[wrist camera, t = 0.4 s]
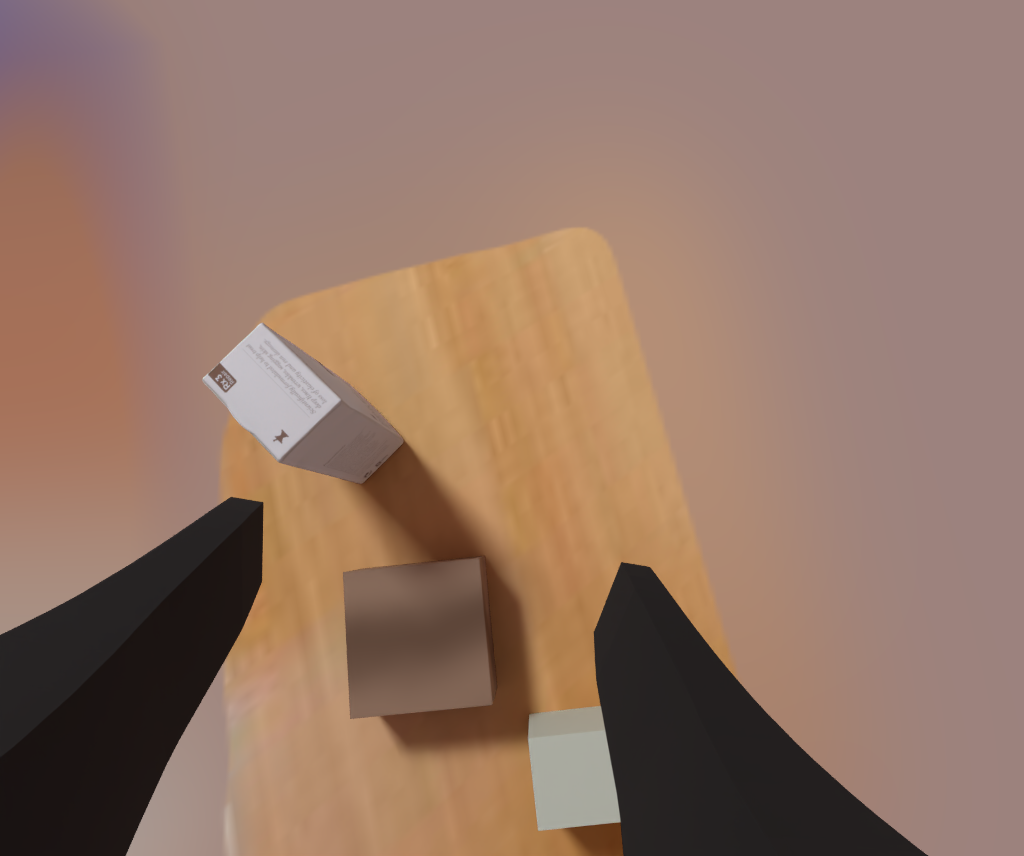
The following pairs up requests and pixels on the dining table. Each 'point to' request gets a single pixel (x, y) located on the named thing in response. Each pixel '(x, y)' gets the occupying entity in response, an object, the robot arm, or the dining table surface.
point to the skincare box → (301, 408)
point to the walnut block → (419, 637)
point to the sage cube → (571, 769)
